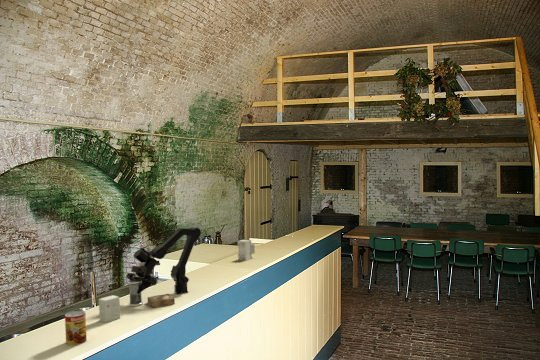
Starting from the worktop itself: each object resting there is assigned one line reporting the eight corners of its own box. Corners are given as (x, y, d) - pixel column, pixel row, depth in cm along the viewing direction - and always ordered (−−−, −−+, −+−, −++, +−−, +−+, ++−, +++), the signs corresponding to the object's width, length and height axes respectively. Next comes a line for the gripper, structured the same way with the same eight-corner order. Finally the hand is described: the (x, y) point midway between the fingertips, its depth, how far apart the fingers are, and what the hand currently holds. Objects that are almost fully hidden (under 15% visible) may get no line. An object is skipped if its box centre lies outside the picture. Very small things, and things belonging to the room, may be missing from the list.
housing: (141, 301, 242) (140, 278, 242) (144, 304, 235) (143, 281, 235) (127, 303, 238) (126, 280, 238) (130, 307, 232) (129, 283, 232)
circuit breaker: (255, 257, 359) (255, 238, 359) (245, 260, 347) (245, 241, 347) (248, 256, 363) (247, 238, 363) (238, 259, 351) (237, 241, 351)
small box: (114, 316, 218) (113, 294, 218) (120, 318, 215) (119, 296, 215) (99, 320, 212) (98, 298, 212) (105, 322, 208) (104, 300, 208)
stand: (168, 299, 245) (168, 293, 245) (174, 304, 235) (174, 298, 235) (147, 302, 240) (147, 297, 240) (153, 307, 230) (152, 302, 229)
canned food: (76, 346, 180) (75, 317, 180) (61, 344, 183) (60, 315, 183) (90, 339, 187) (89, 311, 187) (76, 337, 190) (75, 309, 190)
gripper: (127, 258, 245) (112, 282, 235) (152, 260, 235) (136, 286, 226) (139, 269, 252) (124, 293, 242) (163, 272, 242) (149, 297, 233)
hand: (133, 292), depth 236 cm, fingers closed on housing, 6 cm apart
